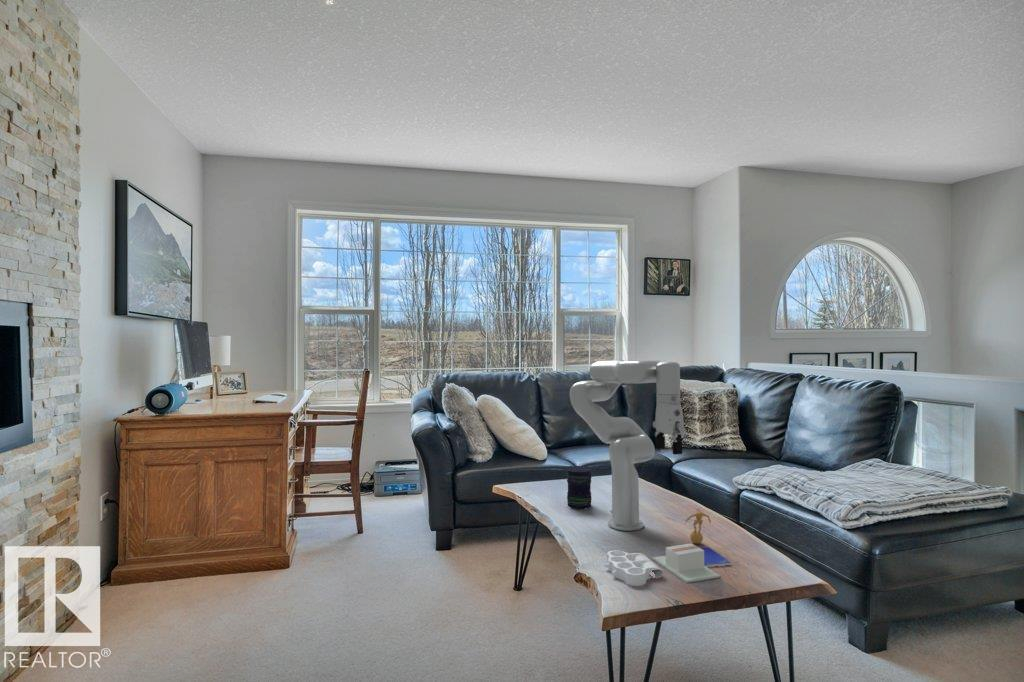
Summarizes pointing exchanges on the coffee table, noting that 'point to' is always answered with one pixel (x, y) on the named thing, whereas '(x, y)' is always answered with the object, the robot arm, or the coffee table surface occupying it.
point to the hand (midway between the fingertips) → (668, 451)
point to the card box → (684, 557)
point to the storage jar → (579, 487)
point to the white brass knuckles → (631, 567)
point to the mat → (689, 572)
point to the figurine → (696, 535)
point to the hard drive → (713, 558)
